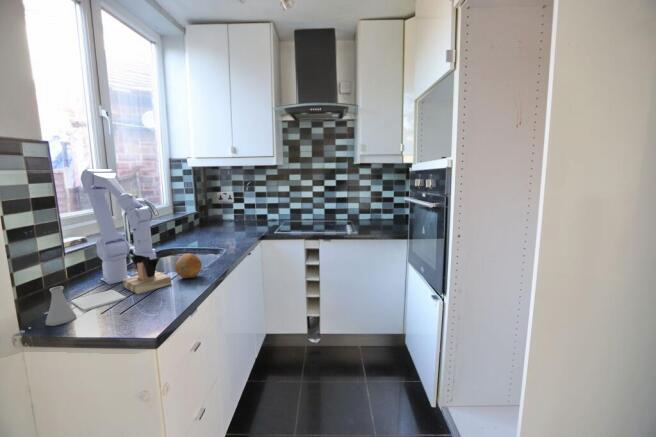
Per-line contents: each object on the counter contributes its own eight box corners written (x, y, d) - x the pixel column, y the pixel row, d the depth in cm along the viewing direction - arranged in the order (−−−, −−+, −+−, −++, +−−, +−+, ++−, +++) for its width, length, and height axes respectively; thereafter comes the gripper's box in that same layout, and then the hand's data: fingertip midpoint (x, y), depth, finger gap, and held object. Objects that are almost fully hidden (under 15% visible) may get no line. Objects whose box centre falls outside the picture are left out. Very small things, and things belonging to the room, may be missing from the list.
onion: (173, 283, 122) (171, 258, 121) (179, 275, 132) (177, 251, 130) (200, 280, 124) (198, 256, 123) (203, 273, 134) (202, 250, 133)
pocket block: (123, 287, 119) (122, 279, 118) (156, 278, 128) (155, 270, 128) (137, 294, 112) (136, 286, 111) (171, 284, 121) (170, 276, 121)
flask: (81, 318, 94) (77, 286, 92) (51, 329, 88) (45, 294, 86) (70, 313, 97) (66, 282, 96) (40, 323, 91) (35, 290, 90)
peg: (139, 286, 120) (136, 263, 118) (150, 283, 123) (148, 260, 121) (144, 288, 117) (141, 264, 116) (155, 285, 120) (153, 262, 119)
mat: (71, 302, 106) (71, 300, 106) (112, 290, 115) (112, 289, 115) (83, 311, 98) (83, 309, 98) (126, 298, 108) (126, 296, 108)
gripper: (163, 239, 116) (166, 275, 118) (145, 235, 125) (148, 268, 127) (142, 243, 111) (146, 280, 113) (125, 238, 119) (129, 273, 121)
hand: (146, 274), depth 119 cm, fingers open, 7 cm apart
